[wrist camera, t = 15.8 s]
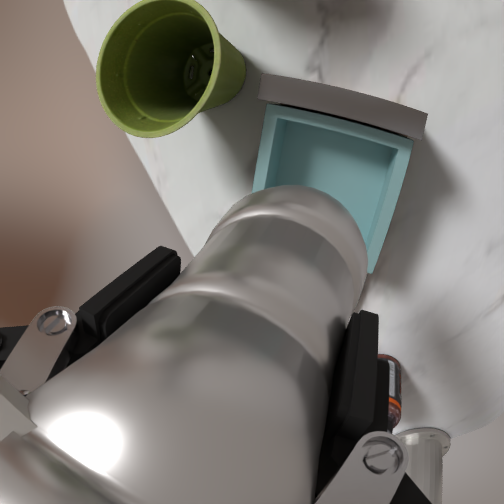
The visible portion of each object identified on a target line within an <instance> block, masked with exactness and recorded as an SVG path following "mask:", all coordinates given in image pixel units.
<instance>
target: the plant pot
mask: <svg viewBox="0 0 504 504" xmlns="http://www.w3.org/2000/svg"><path fill="white" fill-rule="evenodd" d="M209 49H214V52H210V50H209ZM192 55H193V56H194V58H195V59H196V60H194V58H193V57H192ZM191 66H193V67H194V70H193V77H192V79H190V78H189V71H190V67H191ZM210 70H212V74H211V76H209V71H210ZM245 76H246V67H245V62H244V59H243V57H242V55H241V54H240V52H239V51H238V50H237V49H236V48H235V47H234V46H233V45H232V44H231V43H230V42H229V41H228V40H226V39H225V38H224V37H223V36H222V35H221V34H220V33H219V32H218V29H217V26H216V24H215V22H214V20H213V18H212V17H211V15H210V14H209V13H208V11H207V10H206V9H205V8H204V7H203V6H202V5H200V4H199V3H197V2H196V1H194V0H143V1H140V2H138V3H137V4H135V5H133V6H132V7H131V8H129V9H128V10H127V11H126V12H125V13H124V14H122V15H121V16H120V18H119V19H118V20H117V21H116V22H115V23H114V25H113V26H112V27H111V29H110V31H109V32H108V34H107V35H106V38H105V39H104V41H103V44H102V46H101V49H100V53H99V57H98V61H97V66H96V86H97V91H98V95H99V98H100V102H101V105H102V107H103V109H104V110H105V112H106V114H107V115H108V117H109V118H110V119H111V121H112V122H113V123H114V124H115V125H116V126H118V127H119V128H120V129H122V130H123V131H125V132H127V133H128V134H131V135H133V136H137V137H142V138H156V137H161V136H165V135H168V134H170V133H173V132H175V131H177V130H178V129H180V128H182V127H183V126H185V125H186V124H187V123H188V122H190V121H191V120H192V119H193V118H194V117H195V116H196V115H197V114H198V113H200V112H203V111H205V110H208V109H211V108H214V107H216V106H219V105H222V104H224V103H227V102H228V101H230V100H231V99H232V98H233V97H234V96H235V95H236V94H237V93H238V92H239V91H240V90H241V88H242V85H243V83H244V80H245ZM195 94H196V95H195Z"/></svg>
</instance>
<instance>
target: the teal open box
mask: <svg viewBox="0 0 504 504" xmlns="http://www.w3.org/2000/svg"><path fill="white" fill-rule="evenodd" d="M413 143H414V141H413V140H411V139H409V138H407V137H406V136H403V135H400V134H397V133H393V132H390V131H387V130H384V129H381V128H377V127H374V126H370V125H367V124H363V123H360V122H356V121H352V120H349V119H345V118H341V117H337V116H333V115H329V114H324V113H320V112H316V111H311V110H307V109H302V108H297V107H292V106H287V105H281V104H267V105H266V111H265V117H264V122H263V128H262V134H261V140H260V146H259V152H258V158H257V164H256V170H255V176H254V182H253V188H252V193H255V192H257V191H260V190H263V189H267V188H272V187H276V186H281V185H302V186H307V187H313V188H315V189H318V190H320V191H323V192H325V193H327V194H329V195H330V196H332V197H333V198H335V199H336V200H338V201H339V202H340V203H341V204H342V205H343V206H344V207H345V208H346V209H347V210H348V211H349V212H350V213H351V215H352V216H353V218H354V219H355V221H356V222H357V225H358V227H359V229H360V232H361V234H362V237H363V239H364V242H365V245H366V249H367V256H368V269H367V273H371V274H372V273H373V270H374V267H375V265H376V262H377V259H378V257H379V254H380V251H381V248H382V246H383V243H384V240H385V237H386V234H387V231H388V228H389V225H390V222H391V219H392V216H393V213H394V210H395V207H396V203H397V200H398V197H399V194H400V190H401V187H402V183H403V180H404V177H405V173H406V169H407V166H408V162H409V158H410V155H411V151H412V147H413Z"/></svg>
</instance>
